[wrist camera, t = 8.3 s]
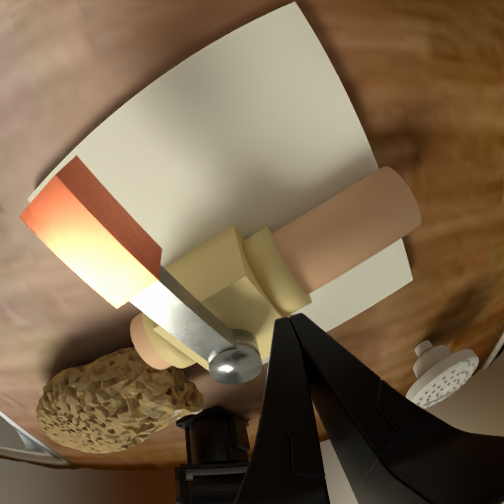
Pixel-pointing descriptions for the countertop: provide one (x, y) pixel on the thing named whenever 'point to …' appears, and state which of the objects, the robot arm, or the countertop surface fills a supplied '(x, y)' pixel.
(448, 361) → the showerhead
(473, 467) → the robot arm
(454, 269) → the countertop surface
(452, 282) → the countertop surface
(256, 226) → the valve board
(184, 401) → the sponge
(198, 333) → the valve lever
